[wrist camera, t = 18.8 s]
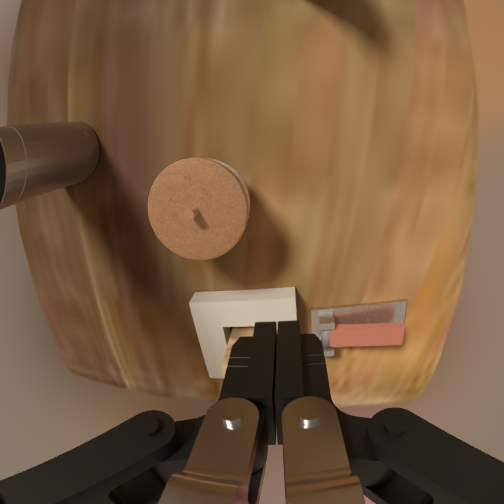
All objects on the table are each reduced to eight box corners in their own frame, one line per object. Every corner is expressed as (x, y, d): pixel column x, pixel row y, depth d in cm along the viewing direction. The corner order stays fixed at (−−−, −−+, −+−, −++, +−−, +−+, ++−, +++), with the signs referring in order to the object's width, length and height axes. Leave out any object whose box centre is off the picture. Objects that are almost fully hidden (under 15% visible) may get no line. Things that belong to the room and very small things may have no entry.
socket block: (213, 365, 46) (209, 377, 44) (195, 292, 42) (188, 302, 39) (299, 364, 44) (299, 377, 41) (295, 286, 39) (295, 297, 37)
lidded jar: (203, 137, 34) (175, 136, 25) (274, 189, 35) (269, 205, 26) (159, 205, 38) (123, 225, 29) (223, 253, 39) (204, 287, 30)
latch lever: (321, 340, 41) (320, 347, 39) (321, 323, 40) (320, 330, 38) (400, 338, 37) (402, 345, 36) (403, 321, 36) (405, 328, 35)
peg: (238, 341, 44) (226, 387, 35) (235, 319, 43) (220, 365, 33) (264, 341, 43) (257, 388, 34) (262, 319, 42) (254, 366, 33)
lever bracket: (312, 346, 43) (313, 360, 40) (310, 308, 40) (312, 320, 37) (399, 337, 40) (405, 350, 37) (405, 298, 38) (412, 310, 35)
